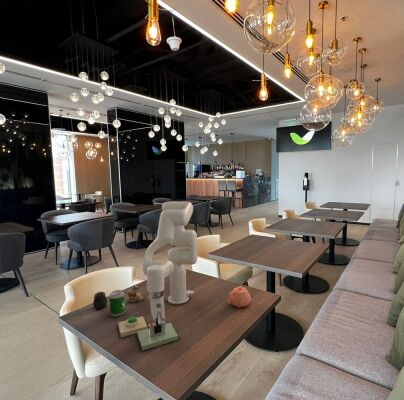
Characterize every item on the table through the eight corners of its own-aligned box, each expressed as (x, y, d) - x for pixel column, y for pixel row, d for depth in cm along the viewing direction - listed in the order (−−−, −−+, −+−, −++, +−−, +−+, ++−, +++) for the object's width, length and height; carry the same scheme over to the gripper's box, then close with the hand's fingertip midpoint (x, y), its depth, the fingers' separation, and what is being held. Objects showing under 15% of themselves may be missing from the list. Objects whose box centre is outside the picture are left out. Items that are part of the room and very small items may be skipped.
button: (135, 318, 132) (135, 315, 132) (136, 322, 129) (136, 318, 129) (128, 320, 130) (127, 317, 130) (129, 324, 127) (128, 320, 127)
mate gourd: (107, 303, 155) (106, 286, 154) (107, 309, 148) (106, 292, 147) (94, 305, 153) (93, 288, 152) (92, 311, 146) (91, 294, 145)
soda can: (120, 318, 139) (118, 296, 138) (107, 316, 141) (106, 295, 139) (128, 310, 146) (127, 290, 145) (115, 309, 148) (114, 288, 147)
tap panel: (170, 326, 132) (170, 322, 131) (178, 339, 121) (178, 335, 121) (137, 335, 124) (137, 331, 124) (142, 350, 114) (141, 346, 113)
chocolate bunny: (131, 297, 162) (131, 282, 161) (143, 298, 160) (143, 282, 159) (127, 302, 156) (126, 285, 155) (139, 303, 155) (138, 286, 154)
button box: (143, 320, 137) (143, 312, 137) (147, 330, 128) (147, 322, 128) (118, 326, 132) (118, 318, 131) (120, 337, 123) (120, 329, 122)
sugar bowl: (254, 306, 151) (254, 289, 150) (233, 312, 144) (233, 294, 143) (243, 297, 162) (243, 281, 160) (223, 302, 155) (223, 285, 154)
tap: (164, 330, 125) (164, 319, 124) (165, 332, 123) (165, 322, 122) (149, 334, 122) (148, 323, 121) (150, 336, 120) (149, 325, 119)
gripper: (168, 298, 115) (169, 338, 117) (160, 284, 129) (161, 320, 131) (150, 302, 112) (152, 343, 114) (144, 287, 126) (146, 324, 128)
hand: (157, 330), depth 122 cm, fingers closed on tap, 2 cm apart
